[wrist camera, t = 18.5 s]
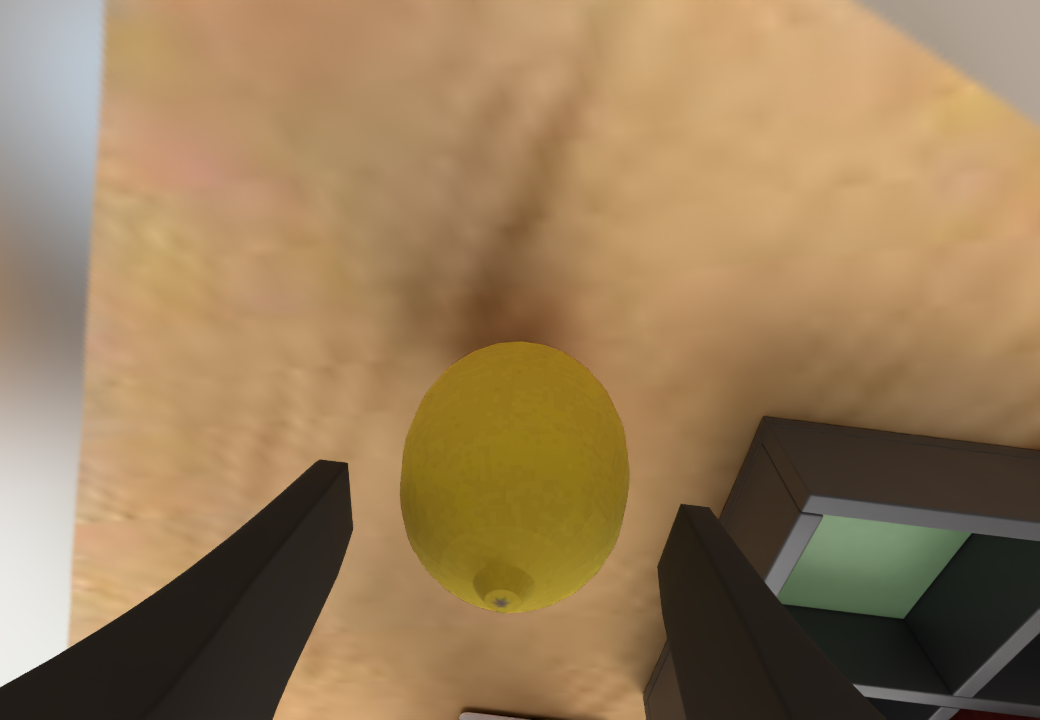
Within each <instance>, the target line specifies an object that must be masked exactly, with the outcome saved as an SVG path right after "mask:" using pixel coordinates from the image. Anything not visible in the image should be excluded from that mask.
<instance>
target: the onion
mask: <svg viewBox="0 0 1040 720" xmlns="http://www.w3.org/2000/svg"><path fill="white" fill-rule="evenodd" d="M949 720H1040V718H1036V717H1028V716H1019V715H1011V714H1003V713H995V712H987V711H979V710H970V709H962V708H960V710H959V711H958V712H957V713H956V714H955V715H954V716H952V717H951V718H950V719H949Z"/></svg>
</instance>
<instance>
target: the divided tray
mask: <svg viewBox="0 0 1040 720" xmlns="http://www.w3.org/2000/svg"><path fill="white" fill-rule="evenodd" d="M719 522H720V523H721V524H722V526H723V527H724V528H725V530H726V531H727V532H728V534H729V535H730V536H731V538H732V539H733V541H734V542H735V543H736V545H737V546H738V547H739V549H740V550H741V551H742V553H743V554H744V555H745V557H746V558H747V559H748V561H749V562H750V563H751V565H752V566H753V567H754V569H755V570H756V571H757V573H758V574H759V575H760V577H761V578H762V579H763V580H764V582H765V583H766V584H767V586H768V587H769V588H770V589H771V591H772V592H773V593H774V594H775V596H776V597H777V598H778V599H779V601H780V602H781V603H782V605H783V606H784V607H785V608H786V610H787V611H788V612H789V613H790V614H791V616H792V617H793V618H794V619H795V620H796V622H797V623H798V624H799V625H800V626H801V627H802V629H803V630H804V631H805V632H806V633H807V634H808V636H809V637H810V638H811V639H812V640H813V641H814V643H815V644H816V645H817V646H818V647H819V648H820V649H821V651H822V652H823V653H824V654H825V655H826V656H827V657H828V658H829V660H830V661H831V662H832V663H833V664H834V665H835V666H836V667H837V668H838V669H839V671H840V672H841V673H842V674H843V675H844V676H845V677H846V678H847V679H848V680H849V681H850V682H851V683H852V684H853V685H854V686H855V687H856V688H857V689H858V690H859V691H860V692H861V693H862V694H863V696H864V697H865V698H866V699H867V700H868V701H869V702H870V703H871V704H872V705H873V706H874V707H875V708H876V709H877V710H878V711H879V712H880V713H881V714H882V715H883V716H884V717H885V718H886V719H887V720H949V719H950V718H951V717H952V716H954V715H955V714H956V713H957V712H958V711H959V710H960V708H962V709H970V710H979V711H987V712H995V713H1003V714H1011V715H1019V716H1028V717H1036V718H1040V451H1037V450H1029V449H1021V448H1013V447H1005V446H997V445H989V444H981V443H973V442H965V441H957V440H949V439H940V438H932V437H924V436H916V435H908V434H900V433H892V432H884V431H876V430H868V429H860V428H852V427H844V426H836V425H828V424H820V423H812V422H804V421H795V420H787V419H779V418H771V417H763V420H762V422H761V424H760V427H759V429H758V431H757V434H756V436H755V438H754V441H753V443H752V445H751V447H750V450H749V452H748V454H747V457H746V459H745V461H744V464H743V466H742V468H741V471H740V473H739V475H738V478H737V480H736V482H735V484H734V487H733V489H732V491H731V494H730V496H729V498H728V501H727V503H726V505H725V508H724V510H723V512H722V515H721V517H720V519H719ZM643 700H644V706H645V714H646V720H686V717H685V713H684V708H683V704H682V699H681V695H680V691H679V686H678V682H677V678H676V673H675V669H674V664H673V660H672V656H671V651H670V647H669V642H668V640H667V642H666V644H665V647H664V649H663V651H662V653H661V656H660V658H659V660H658V663H657V665H656V667H655V670H654V672H653V674H652V677H651V679H650V681H649V684H648V686H647V688H646V691H645V693H644V695H643Z"/></svg>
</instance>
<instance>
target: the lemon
mask: <svg viewBox="0 0 1040 720" xmlns="http://www.w3.org/2000/svg"><path fill="white" fill-rule="evenodd" d="M628 489H629V463H628V455H627V446H626V438H625V433H624V429H623V426H622V423H621V420H620V418H619V416H618V414H617V411H616V409H615V407H614V405H613V403H612V401H611V399H610V397H609V395H608V393H607V391H606V390H605V388H604V387H603V386H602V384H601V383H600V382H599V381H598V380H597V379H596V378H595V376H594V375H593V374H592V373H591V372H590V371H589V370H588V368H586V367H585V366H584V365H583V364H581V363H580V362H578V361H577V360H575V359H574V358H572V357H571V356H569V355H568V354H566V353H565V352H562V351H560V350H557V349H554V348H551V347H549V346H546V345H543V344H536V343H529V342H522V341H517V342H506V343H496V344H493V345H490V346H487V347H484V348H481V349H478V350H475V351H474V352H472V353H470V354H468V355H467V356H465V357H464V358H462V359H461V360H459V361H457V362H456V363H454V364H453V365H451V366H450V367H449V368H448V369H447V370H446V371H445V372H444V373H443V374H442V375H441V377H440V378H439V379H438V380H437V381H436V382H435V383H434V384H433V386H432V387H431V388H430V389H429V390H428V392H427V393H426V395H425V396H424V398H423V400H422V401H421V404H420V406H419V408H418V410H417V413H416V415H415V417H414V419H413V422H412V424H411V426H410V428H409V431H408V434H407V437H406V441H405V446H404V452H403V461H402V472H401V483H400V501H401V510H402V515H403V520H404V524H405V528H406V532H407V536H408V539H409V541H410V544H411V546H412V548H413V550H414V552H415V553H416V555H417V557H418V558H419V560H420V561H421V563H422V565H423V566H424V567H425V569H426V570H427V571H428V573H429V574H430V575H431V576H432V577H433V578H434V579H435V580H436V581H437V582H439V583H440V584H441V585H442V586H443V587H444V588H445V589H446V590H448V591H449V592H450V593H452V594H453V595H455V596H457V597H458V598H460V599H462V600H463V601H465V602H468V603H470V604H473V605H475V606H478V607H481V608H483V609H487V610H492V611H495V612H499V613H516V612H525V611H532V610H537V609H540V608H544V607H547V606H550V605H553V604H555V603H557V602H558V601H560V600H562V599H564V598H566V597H568V596H570V595H572V594H574V593H575V592H576V591H578V590H579V589H580V588H581V587H582V586H583V585H584V584H585V583H587V582H588V581H589V580H590V579H591V578H592V577H593V576H594V575H596V574H597V572H598V571H599V570H600V568H601V567H602V565H603V564H604V562H605V561H606V559H607V557H608V556H609V554H610V552H611V551H612V549H613V547H614V545H615V543H616V541H617V538H618V536H619V532H620V528H621V524H622V520H623V516H624V511H625V507H626V502H627V496H628Z"/></svg>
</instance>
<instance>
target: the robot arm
mask: <svg viewBox="0 0 1040 720" xmlns="http://www.w3.org/2000/svg"><path fill="white" fill-rule="evenodd" d="M352 531H353V521H352V508H351V496H350V484H349V471H348V463H345V462H336V461H328V460H318V461H317V462H315V463H314V464H313V465H312V466H311V467H310V468H309V469H307V470H306V471H305V472H304V473H303V474H302V475H301V476H300V477H299V478H297V479H296V480H295V481H294V482H293V483H292V484H291V485H290V486H289V487H287V488H286V489H285V490H284V491H283V492H282V493H281V494H280V495H278V496H277V497H276V498H275V499H274V500H273V501H272V502H270V503H269V504H268V505H267V506H266V507H265V508H264V509H262V510H261V511H260V512H259V513H258V514H256V515H255V516H254V517H253V518H252V519H251V520H249V521H248V522H247V523H246V524H245V525H243V526H242V527H241V528H240V529H239V530H237V531H236V532H235V533H234V534H233V535H231V536H230V537H229V538H228V539H226V540H225V541H224V542H223V543H221V544H220V545H219V546H217V547H216V548H215V549H214V550H212V551H211V552H210V553H208V554H207V555H206V556H205V557H203V558H202V559H201V560H199V561H198V562H197V563H196V564H194V565H193V566H192V567H190V568H189V569H188V570H186V571H185V572H184V573H182V574H181V575H180V576H178V577H177V578H175V579H174V580H173V581H171V582H170V583H169V584H167V585H166V586H164V587H163V588H161V589H160V590H159V591H157V592H156V593H154V594H153V595H151V596H150V597H148V598H147V599H145V600H144V601H143V602H141V603H140V604H138V605H137V606H135V607H134V608H132V609H131V610H129V611H128V612H126V613H125V614H123V615H121V616H120V617H118V618H117V619H115V620H114V621H112V622H110V623H109V624H107V625H106V626H104V627H102V628H101V629H99V630H98V631H96V632H95V633H93V634H91V635H90V636H88V637H86V638H85V639H83V640H81V641H80V642H78V643H77V644H75V645H73V646H72V647H70V648H68V649H67V650H65V651H63V652H62V653H60V654H59V655H57V656H55V657H54V658H52V659H50V660H49V661H47V662H45V663H43V664H41V665H39V666H38V667H36V668H34V669H32V670H31V671H29V672H27V673H25V674H23V675H22V676H20V677H18V678H16V679H14V680H13V681H11V682H9V683H7V684H5V685H4V686H2V687H0V720H273V717H274V714H275V711H276V709H277V706H278V704H279V701H280V699H281V697H282V694H283V692H284V690H285V687H286V685H287V683H288V680H289V678H290V676H291V674H292V672H293V670H294V668H295V666H296V663H297V661H298V659H299V657H300V655H301V653H302V651H303V649H304V646H305V644H306V642H307V640H308V638H309V636H310V634H311V632H312V629H313V627H314V625H315V623H316V621H317V619H318V617H319V615H320V613H321V610H322V608H323V606H324V604H325V602H326V600H327V597H328V595H329V593H330V591H331V589H332V587H333V584H334V582H335V580H336V578H337V576H338V573H339V570H340V567H341V564H342V562H343V559H344V556H345V553H346V550H347V547H348V544H349V541H350V538H351V534H352ZM657 568H658V578H659V589H660V598H661V606H662V615H663V619H664V624H665V629H666V633H667V638H668V642H669V647H670V651H671V656H672V660H673V664H674V669H675V673H676V678H677V682H678V686H679V691H680V695H681V699H682V704H683V708H684V713H685V717H686V720H887V719H886V718H885V717H884V716H883V715H882V714H881V713H880V712H879V711H878V710H877V709H876V708H875V707H874V706H873V705H872V704H871V703H870V702H869V701H868V700H867V699H866V698H865V697H864V696H863V694H862V693H861V692H860V691H859V690H858V689H857V688H856V687H855V686H854V685H853V684H852V683H851V682H850V681H849V680H848V679H847V678H846V677H845V676H844V675H843V674H842V673H841V672H840V671H839V669H838V668H837V667H836V666H835V665H834V664H833V663H832V662H831V661H830V660H829V658H828V657H827V656H826V655H825V654H824V653H823V652H822V651H821V649H820V648H819V647H818V646H817V645H816V644H815V643H814V641H813V640H812V639H811V638H810V637H809V636H808V634H807V633H806V632H805V631H804V630H803V629H802V627H801V626H800V625H799V624H798V623H797V622H796V620H795V619H794V618H793V617H792V616H791V614H790V613H789V612H788V611H787V610H786V608H785V607H784V606H783V605H782V603H781V602H780V601H779V599H778V598H777V597H776V596H775V594H774V593H773V592H772V591H771V589H770V588H769V587H768V586H767V584H766V583H765V582H764V580H763V579H762V578H761V577H760V575H759V574H758V573H757V571H756V570H755V569H754V567H753V566H752V565H751V563H750V562H749V561H748V559H747V558H746V557H745V555H744V554H743V553H742V551H741V550H740V549H739V547H738V546H737V545H736V543H735V542H734V541H733V539H732V538H731V536H730V535H729V534H728V532H727V531H726V530H725V528H724V527H723V526H722V524H721V523H720V522H719V520H718V519H717V518H716V516H715V515H714V513H713V512H712V511H711V509H710V508H709V507H702V506H694V505H685V504H681V505H680V507H679V510H678V513H677V515H676V518H675V521H674V523H673V526H672V529H671V531H670V534H669V537H668V539H667V542H666V545H665V548H664V550H663V553H662V556H661V558H660V561H659V564H658V566H657ZM459 720H529V719H521V718H513V717H504V716H496V715H488V714H480V713H472V712H465V713H462V714H461V715H460V716H459Z"/></svg>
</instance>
